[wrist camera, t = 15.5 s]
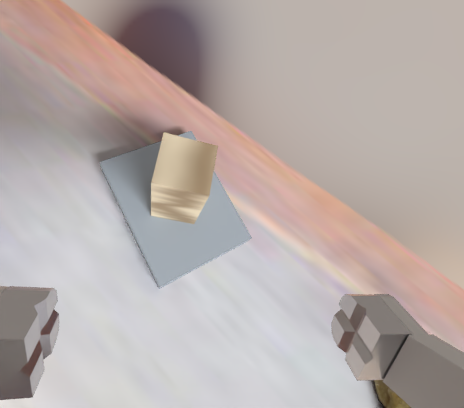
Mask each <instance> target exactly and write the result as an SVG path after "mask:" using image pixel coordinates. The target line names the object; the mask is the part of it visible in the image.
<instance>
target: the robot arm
mask: <svg viewBox="0 0 464 408" xmlns="http://www.w3.org/2000/svg"><path fill="white" fill-rule="evenodd" d="M57 301H58V298H57V290H56V289H54V288H39V287H15V286H10V287H5V286H0V400H6V399H19V398H31V397H33V395H34V393H35V391H36V388H37V386H38V384H39V381H40V379H41V377H42V374H43V372H44V361H43V359H45V358H46V357H47V356H48V355H50V354H51V353H52V350H53V348H54V345H55V343H56V339H57V335H58V331H59V314H58V313H57V312H56V311H55V310H54V307H55V305H56V303H57ZM339 306H340V308H341V310H340V311H338V312H337V313H336V314H335V315H334V317H333V320H332V323H331V326H332V335H333V338H334V341H335V342H336V344H337V346H338V347H339V348H340V349H342V350H343V351H344V352H345V353H346V357H345V360H346V362H347V364H348V366H349V367H350V369H351V371H352V373H353V374H354V376H355V378H356V380H383V382H384V383H385V384H386V385H387V386H388V387H389V388H390V389H392V390H393V391H394V392H395V393H396V394H397V395H398V396H399V397H400V398H401V399H403V400H404V401H405V402H406V403H407V404H408V405H409V406H410V407H411V408H464V353H463V352H462V351H460V350H458V349H456V348H455V347H453V346H451V345H450V344H448V343H446V342H444V341H443V340H441V339H439V338H438V337H436V336H434V335H428V334H427V332H426V331H425V330H424V329H423V328H422V327H421V326H420V325H419V324H418V323H417V322H416V321H415V320H414V318H413V317H412V316H411V315H410V314H409V313H408V312H407V311H406V310H405V309H404V308H403V307H402V305H401V304H400V303H399V302H398V301H397V300H396V299H395V298H394V297H392V296H391V295H389V294H374V295H365V294H345V295H344V296H343V297H342V298H341V300H340V303H339Z"/></svg>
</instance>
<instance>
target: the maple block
mask: <svg viewBox="0 0 464 408" xmlns="http://www.w3.org/2000/svg"><path fill="white" fill-rule="evenodd" d="M217 149H218V146H216V145H212V144H208V143H204V142H200V141H196V140H192V139H188V138H184V137H180V136H176V135H172V134H168V133H165V132H164V133H163V137H162V141H161V145H160V149H159V153H158V157H157V161H156V165H155V169H154V173H153V177H152V182H151V216H154V217H159V218H165V219H170V220H175V221H180V222H185V223H190V224H195V222H196V220H197V218H198V216H199V214H200V212H201V210H202V209H203V207H204V205H205V203H206V201H207V199H208V197H209V195H210V190H211V184H212V178H213V172H214V166H215V160H216V154H217Z"/></svg>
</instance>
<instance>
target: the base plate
mask: <svg viewBox="0 0 464 408" xmlns="http://www.w3.org/2000/svg"><path fill="white" fill-rule="evenodd" d="M177 136H180V137H184V138H188V139H192V140H196V138H195V136H194V135H193V133H192V131H189V132H186V133H183V134H180V135H177ZM196 141H197V140H196ZM160 145H161V141H160V142H157V143H154V144H151V145H148V146H145V147H142V148H139V149H136V150H133V151H131V152H128V153H125V154H122V155H119V156H116V157H113V158H110V159H107V160H104V161H101V162H99V163H100V166H101V169H102V171H103V174H104V176H105V178H106V180H107V182H108V184H109V186H110V188H111V190H112V192H113V194H114V196H115V198H116V200H117V203H118V205H119V207H120V209H121V211H122V213H123V215H124V217H125V219H126V221H127V223H128V225H129V227H130V229H131V232H132V234H133V236H134V238H135V240H136V242H137V244H138V246H139V248H140V250H141V252H142V254H143V256H144V258H145V261H146V263H147V265H148V267H149V269H150V271H151V273H152V275H153V277H154V279H155V281H156V283H157V285H158V287H159V289H160V288H162V287H163V286H165V285H167V284H169V283H171V282H173V281H175V280H177V279H178V278H180V277H182V276H184V275H186V274H188V273H190V272H191V271H193V270H195V269H197V268H199V267H201V266H203V265H204V264H206V263H208V262H210V261H212V260H214V259H216V258H218V257H219V256H221V255H223V254H225V253H227V252H229V251H231V250H232V249H234V248H236V247H238V246H240V245H242V244H244V243H245V242H247V241H248V240H250V239H251V238H252V237H251V236H250V234H249V232H248V230H247V228H246V227H245V225H244V223H243V221H242V220H241V218H240V216H239V214H238V213H237V211H236V209H235V207H234V205H233V204H232V202H231V200H230V198H229V197H228V195H227V193H226V191H225V190H224V188H223V186H222V184H221V182H220V181H219V179H218V177H217V175H216V174H215V172H213V178H212V184H211V190H210V195H209V197H208V199H207V201H206V203H205V205H204V207H203V209H202V210H201V212H200V214H199V216H198V218H197V220H196V222H195V224H190V223H185V222H180V221H175V220H170V219H165V218H159V217H154V216H151V182H152V177H153V173H154V169H155V165H156V161H157V157H158V153H159V149H160Z"/></svg>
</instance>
